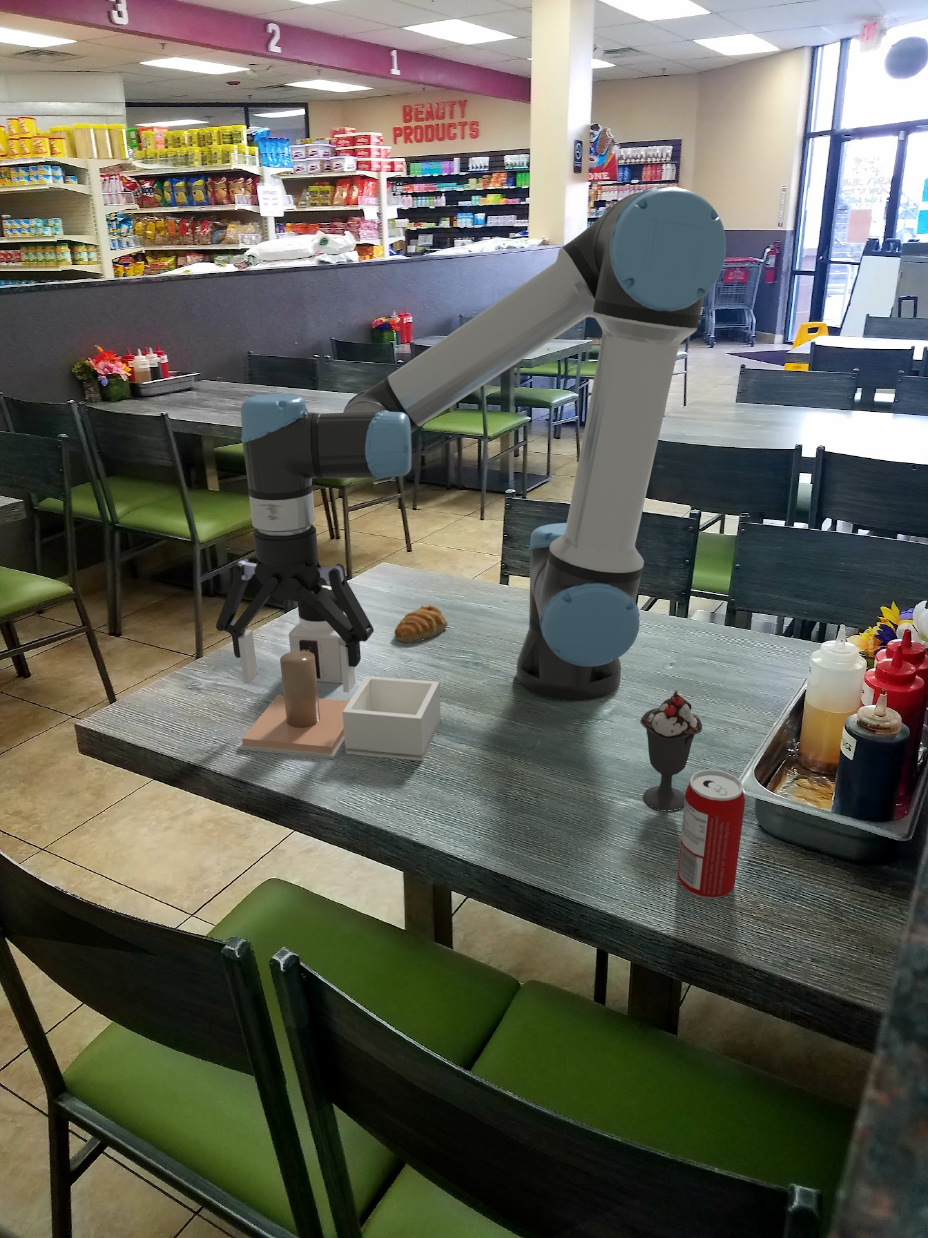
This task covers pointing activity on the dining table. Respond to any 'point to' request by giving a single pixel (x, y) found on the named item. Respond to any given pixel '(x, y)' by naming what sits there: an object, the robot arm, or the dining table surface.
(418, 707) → the white open box
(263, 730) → the lid
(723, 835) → the soda can
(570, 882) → the dining table surface
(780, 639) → the dining table surface
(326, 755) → the mat
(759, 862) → the dining table surface
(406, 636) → the pastry
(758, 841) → the dining table surface
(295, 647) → the container
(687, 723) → the sundae
